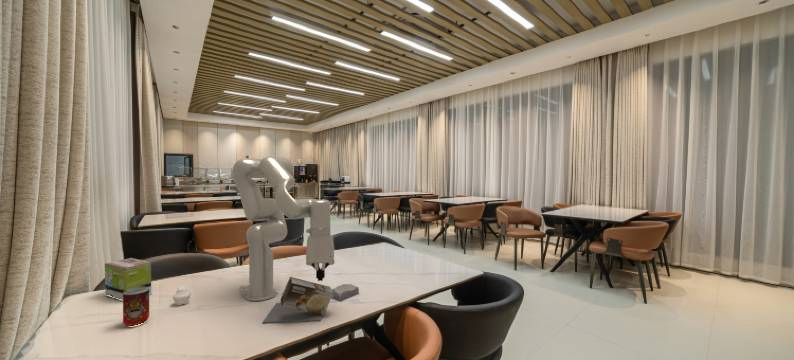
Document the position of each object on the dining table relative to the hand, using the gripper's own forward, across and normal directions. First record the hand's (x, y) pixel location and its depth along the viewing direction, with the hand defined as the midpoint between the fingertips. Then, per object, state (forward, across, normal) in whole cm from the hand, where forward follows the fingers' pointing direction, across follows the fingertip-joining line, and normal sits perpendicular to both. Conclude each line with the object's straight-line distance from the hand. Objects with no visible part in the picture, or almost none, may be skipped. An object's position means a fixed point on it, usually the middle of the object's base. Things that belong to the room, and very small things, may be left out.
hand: (320, 279), depth 117 cm
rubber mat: (+12, -9, 0) cm, 15 cm away
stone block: (+13, +7, +16) cm, 22 cm away
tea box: (+12, -85, +23) cm, 89 cm away
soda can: (+12, -63, -4) cm, 64 cm away
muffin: (+12, -57, +12) cm, 59 cm away
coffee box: (+8, +3, -1) cm, 8 cm away
